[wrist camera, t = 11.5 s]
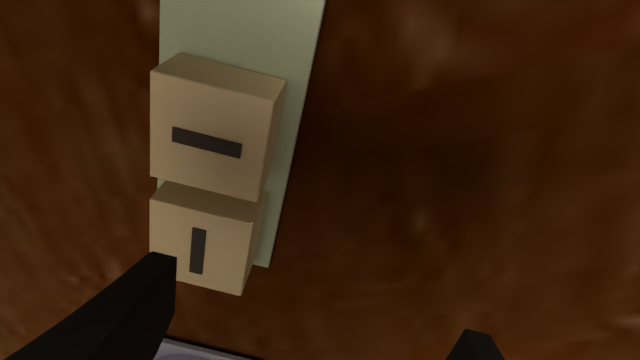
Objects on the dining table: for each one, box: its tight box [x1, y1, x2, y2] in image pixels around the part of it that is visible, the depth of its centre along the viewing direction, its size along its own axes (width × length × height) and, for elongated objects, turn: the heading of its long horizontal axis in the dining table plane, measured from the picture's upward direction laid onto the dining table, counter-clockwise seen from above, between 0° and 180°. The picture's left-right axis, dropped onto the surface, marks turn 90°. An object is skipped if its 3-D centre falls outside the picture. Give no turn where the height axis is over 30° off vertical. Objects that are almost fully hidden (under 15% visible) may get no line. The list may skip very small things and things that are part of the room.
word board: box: [150, 0, 327, 296], centre depth 17 cm, size 16×6×3 cm, turn 167°
